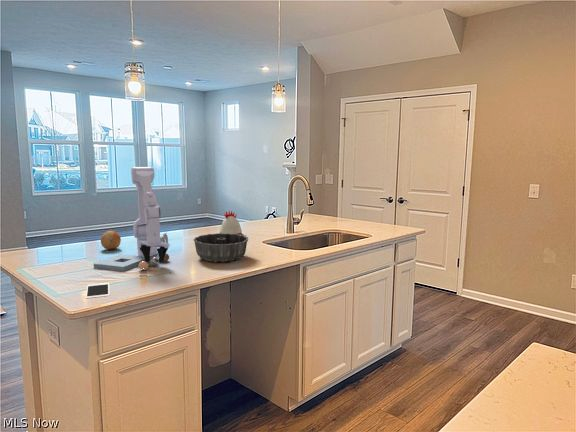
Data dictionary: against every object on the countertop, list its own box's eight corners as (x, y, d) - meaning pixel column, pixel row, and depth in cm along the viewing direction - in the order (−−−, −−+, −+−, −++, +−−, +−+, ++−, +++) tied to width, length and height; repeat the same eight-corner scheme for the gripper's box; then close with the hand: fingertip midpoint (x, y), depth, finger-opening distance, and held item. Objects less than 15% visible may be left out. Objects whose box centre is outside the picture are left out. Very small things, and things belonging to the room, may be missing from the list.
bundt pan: (259, 256, 209) (259, 236, 208) (225, 268, 187) (225, 246, 185) (218, 249, 223) (217, 231, 221) (182, 260, 200) (181, 239, 199)
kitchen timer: (217, 233, 268) (216, 210, 265) (237, 231, 273) (237, 209, 271) (223, 237, 255) (222, 213, 253) (244, 235, 261) (244, 211, 259)
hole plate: (121, 258, 202) (121, 254, 202) (149, 261, 198) (149, 257, 197) (93, 267, 185) (93, 263, 185) (123, 271, 181) (123, 266, 180)
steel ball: (153, 264, 192) (153, 255, 192) (161, 265, 191) (160, 256, 190) (148, 266, 188) (147, 257, 188) (155, 267, 187) (155, 258, 187)
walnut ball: (163, 260, 200) (163, 251, 199) (171, 260, 199) (170, 252, 198) (158, 262, 196) (158, 253, 195) (166, 262, 195) (165, 254, 194)
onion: (104, 252, 214) (103, 233, 213) (98, 249, 222) (97, 230, 220) (123, 249, 220) (122, 231, 219) (117, 246, 228) (116, 228, 226)
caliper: (166, 243, 237) (166, 232, 236) (168, 243, 237) (167, 232, 236) (138, 250, 219) (137, 239, 219) (139, 251, 219) (139, 239, 218)
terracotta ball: (142, 268, 185) (142, 259, 184) (150, 269, 184) (149, 260, 183) (136, 271, 181) (136, 262, 180) (144, 272, 180) (144, 262, 179)
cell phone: (109, 284, 164) (109, 282, 164) (109, 296, 150) (109, 295, 150) (87, 286, 161) (87, 284, 161) (85, 299, 147) (85, 297, 147)
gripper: (133, 233, 186) (135, 263, 188) (161, 235, 182) (163, 265, 184) (143, 230, 193) (145, 259, 195) (171, 232, 188) (172, 262, 190)
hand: (154, 262), depth 190 cm, fingers open, 7 cm apart
